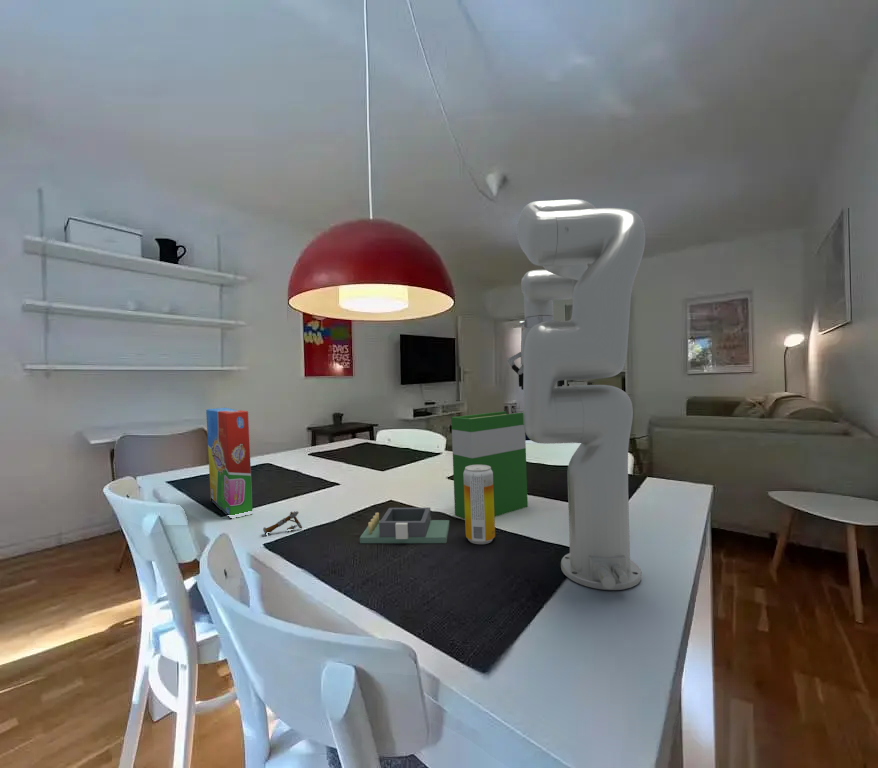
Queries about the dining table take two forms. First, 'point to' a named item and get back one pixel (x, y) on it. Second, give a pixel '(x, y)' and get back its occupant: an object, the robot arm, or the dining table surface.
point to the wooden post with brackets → (281, 522)
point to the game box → (229, 459)
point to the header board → (406, 527)
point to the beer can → (479, 504)
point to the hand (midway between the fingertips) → (541, 388)
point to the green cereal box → (491, 457)
